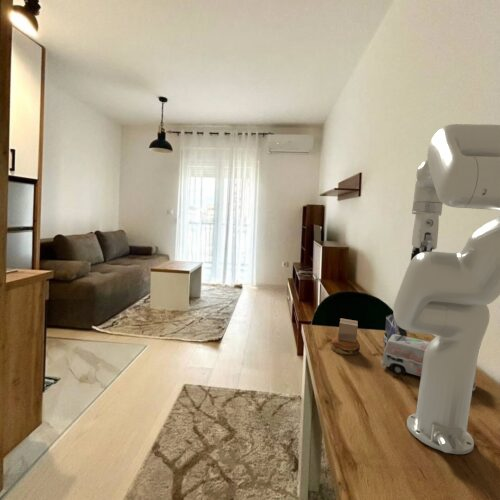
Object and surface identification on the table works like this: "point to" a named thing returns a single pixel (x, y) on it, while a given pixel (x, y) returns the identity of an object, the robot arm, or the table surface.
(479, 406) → the table surface
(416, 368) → the toy car
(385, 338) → the decorative emblem
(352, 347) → the burger
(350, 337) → the light brown cube
